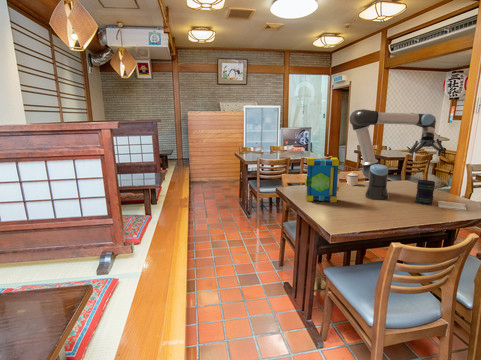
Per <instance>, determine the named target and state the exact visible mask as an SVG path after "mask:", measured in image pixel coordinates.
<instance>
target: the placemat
mask: <svg viewBox="0 0 481 360" xmlns="http://www.w3.org/2000/svg"><path fill="white" fill-rule="evenodd" d="M437 206H438V208H440V209H446V210H447V209H448V210H455V211H462V212H463V211H464V212H466V211H467V208H466V204H465V203H461V202H452V201H441V200H438V201H437Z"/></svg>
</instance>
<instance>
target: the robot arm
mask: <svg viewBox="0 0 481 360" xmlns="http://www.w3.org/2000/svg"><path fill="white" fill-rule="evenodd" d="M348 118H349V123H350V124H351V126H352V130H353V131H354V132H355V133H356V137H357V140H358V146H359V150H360V153H361V157H362V161H363V162H362V163H361V166H362V169H361V173H362V175H363V176H364V177H365V178H366V179H368V186H367V189H366V191H365V193H364V194H365V196H364V197H365V198H367V199H370V200H377V201H387V200H388V199H389V193H388V189H387V185H388V177H389V168H388V166H386V165H385V164H379V163H380V162H379V160H378V159H377V158H376V155H375V151H374V147H373V143H372V138H371V134H370V130H369V129H370V128H369V127H371V126H377V124H381V125H384V124H385V125H410V126H417V127H420V128H422V131H421V139H420V140H419V141H418V140H415V143H414V144H413V145H412V147H410V149H409V154H410V155H411V158H412V162H413V163H416V157H417V155H416V154H417V152H419V151H420V150H421V149H423V148H427V147H429V148H430V147H432V148H433V149H434V150H435V151H436V156H435V157H436V158H435V160H436V162H439V157H441V154H442V152H445V148H444V146H443V145H442V144H441V142H440V139H439V138H436V139H435V134H436V133H435V131H436V123H437V121H436V120H437V118H436V116H435V115H432V114H431V113H415V112H414V113H413V112H409V113H406V112H405V113H404V112H379V110H370V109H365V108H363V109H357V110H356V109H355V110H354V111H352V112H351V113H350V115H349V117H348ZM434 143H435V144H434ZM436 144H437V145H436Z"/></svg>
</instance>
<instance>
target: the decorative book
mask: <svg viewBox="0 0 481 360" xmlns="http://www.w3.org/2000/svg"><path fill="white" fill-rule="evenodd" d="M306 161H307V162H306V164H307V165H306V166H307V167H306V168H307V173H306V175H305V177H304V186H305V187H306V192H305V198H306V202H307V201H313V202H314V201H319V202H325V201H329V203H330V202H337V203H338V201H337V199H338V196H337V192H339V190H340V187H339V186H338V176H339V174H341V170H339V166H340V159H338V157H330V159H328V158H327V159H326V158H318V159H316V158H315V157H309V156H308V157H307V160H306Z"/></svg>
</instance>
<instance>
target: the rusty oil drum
mask: <svg viewBox="0 0 481 360" xmlns="http://www.w3.org/2000/svg"><path fill="white" fill-rule="evenodd" d="M435 188H436V181H434V180H429V179H418V180H417V184H416V189H417V190H416V194H415V195H416V196H415V202H414V203H416V204H417V205H421V206H432V205H433V201H434V191H435Z"/></svg>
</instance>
